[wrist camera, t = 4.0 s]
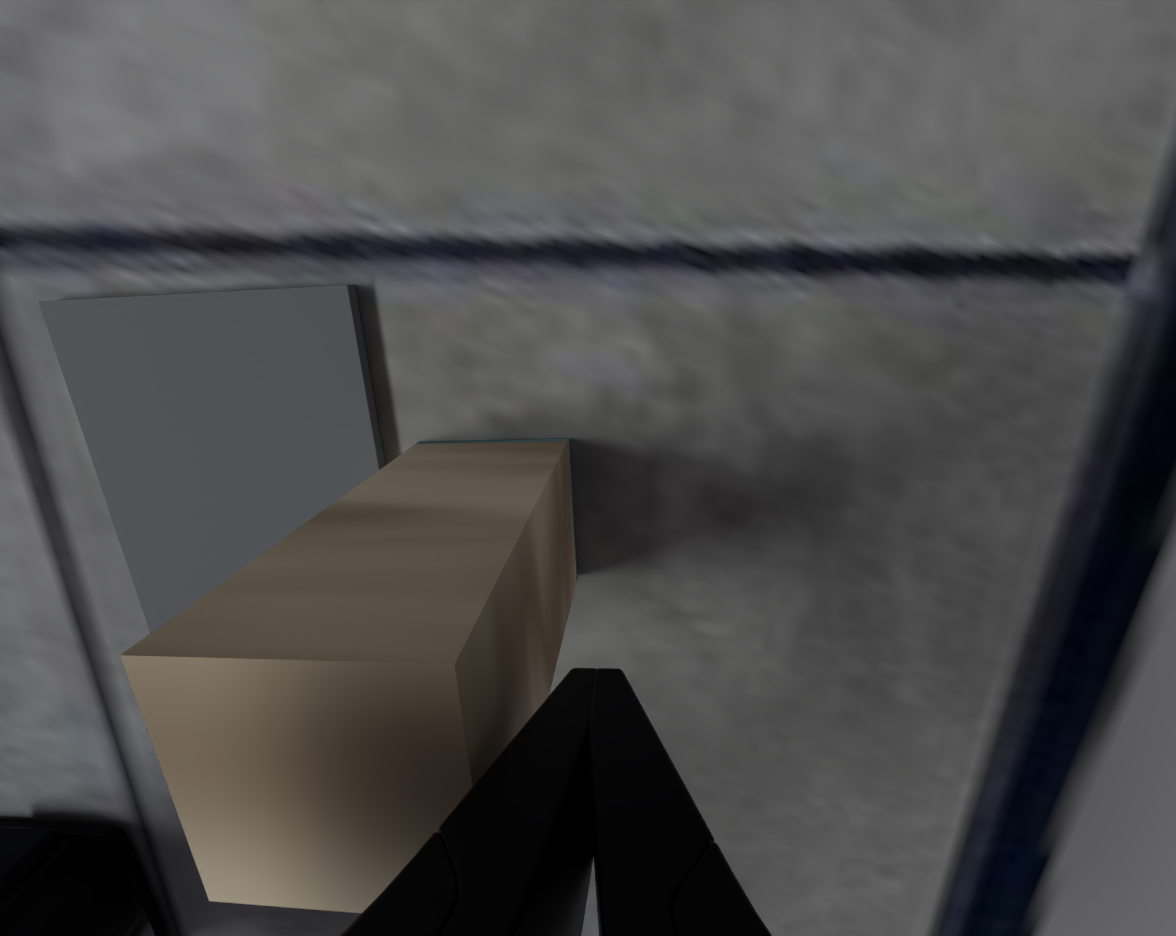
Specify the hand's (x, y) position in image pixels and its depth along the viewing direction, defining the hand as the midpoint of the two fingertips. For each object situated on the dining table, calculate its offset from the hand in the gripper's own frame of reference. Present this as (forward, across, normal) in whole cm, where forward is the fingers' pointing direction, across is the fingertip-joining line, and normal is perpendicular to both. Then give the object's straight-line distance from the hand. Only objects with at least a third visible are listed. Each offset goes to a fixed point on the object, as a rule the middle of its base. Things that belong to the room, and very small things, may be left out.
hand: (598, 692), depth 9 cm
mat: (+7, +10, 0) cm, 12 cm away
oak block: (+7, +3, 0) cm, 8 cm away
